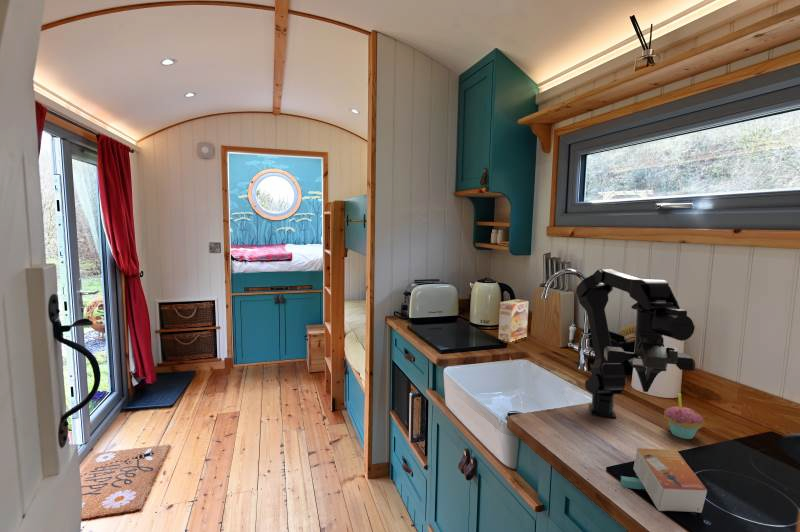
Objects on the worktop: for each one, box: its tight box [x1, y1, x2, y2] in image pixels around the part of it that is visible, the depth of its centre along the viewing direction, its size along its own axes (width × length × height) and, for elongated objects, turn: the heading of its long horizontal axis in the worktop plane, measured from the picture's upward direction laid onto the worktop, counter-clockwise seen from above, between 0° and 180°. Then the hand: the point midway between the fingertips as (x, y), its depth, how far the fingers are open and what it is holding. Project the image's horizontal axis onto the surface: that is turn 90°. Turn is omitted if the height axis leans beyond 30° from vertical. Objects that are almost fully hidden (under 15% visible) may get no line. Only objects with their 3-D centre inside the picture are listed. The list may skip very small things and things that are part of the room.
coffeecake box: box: [497, 298, 530, 342], centre depth 194 cm, size 15×7×20 cm, turn 132°
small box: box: [633, 447, 708, 514], centre depth 80 cm, size 8×6×10 cm
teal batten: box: [620, 475, 646, 491], centre depth 83 cm, size 2×12×2 cm, turn 78°
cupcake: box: [663, 390, 704, 440], centre depth 106 cm, size 9×8×12 cm
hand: (645, 391), depth 101 cm, fingers closed
